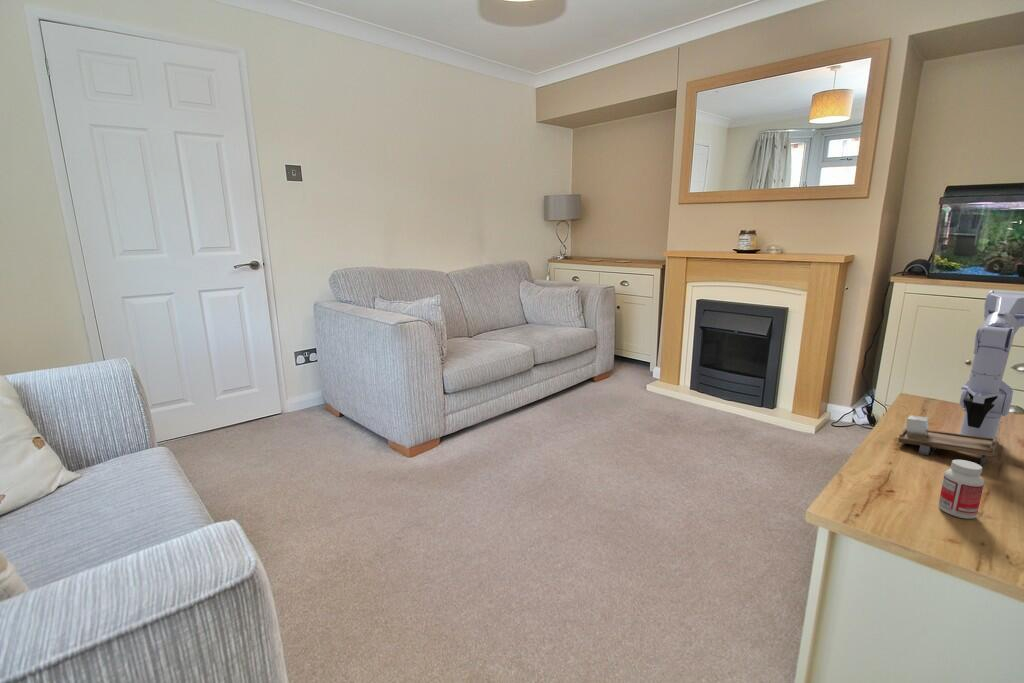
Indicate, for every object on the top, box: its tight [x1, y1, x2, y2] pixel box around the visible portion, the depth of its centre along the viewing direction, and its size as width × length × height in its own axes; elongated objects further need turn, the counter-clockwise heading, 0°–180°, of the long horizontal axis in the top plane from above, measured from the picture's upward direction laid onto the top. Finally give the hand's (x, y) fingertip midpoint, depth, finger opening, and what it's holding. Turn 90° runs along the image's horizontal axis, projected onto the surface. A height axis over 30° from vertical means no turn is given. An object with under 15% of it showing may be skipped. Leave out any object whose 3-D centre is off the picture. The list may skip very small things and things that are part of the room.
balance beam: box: [898, 426, 998, 457], centre depth 130 cm, size 11×18×2 cm, turn 41°
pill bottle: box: [938, 459, 985, 520], centre depth 102 cm, size 6×6×11 cm
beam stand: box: [901, 443, 987, 467], centre depth 131 cm, size 14×17×3 cm
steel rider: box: [906, 415, 929, 439], centre depth 135 cm, size 4×4×5 cm
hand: (975, 423), depth 126 cm, fingers open, 7 cm apart
